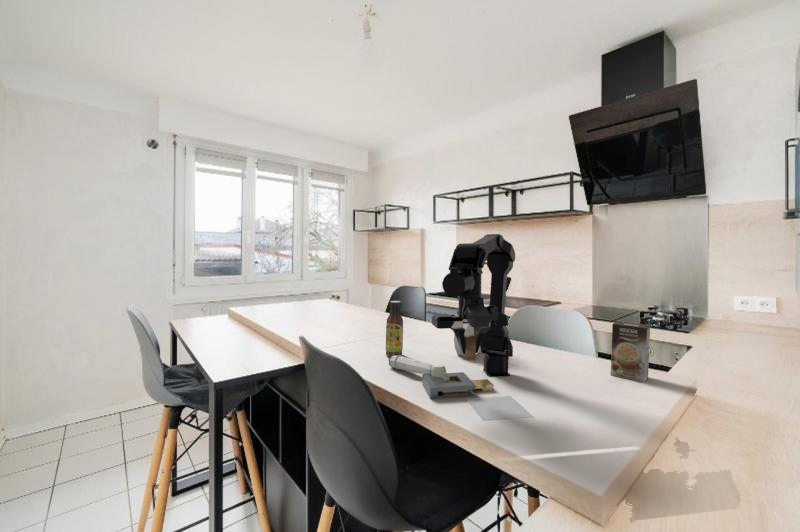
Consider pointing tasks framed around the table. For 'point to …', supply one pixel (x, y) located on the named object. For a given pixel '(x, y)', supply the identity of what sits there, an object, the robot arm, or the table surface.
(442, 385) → the grey block with slider
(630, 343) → the coffee box
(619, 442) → the table surface
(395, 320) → the sauce bottle
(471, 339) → the walnut peg
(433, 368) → the white long cylinder
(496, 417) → the grey mat
